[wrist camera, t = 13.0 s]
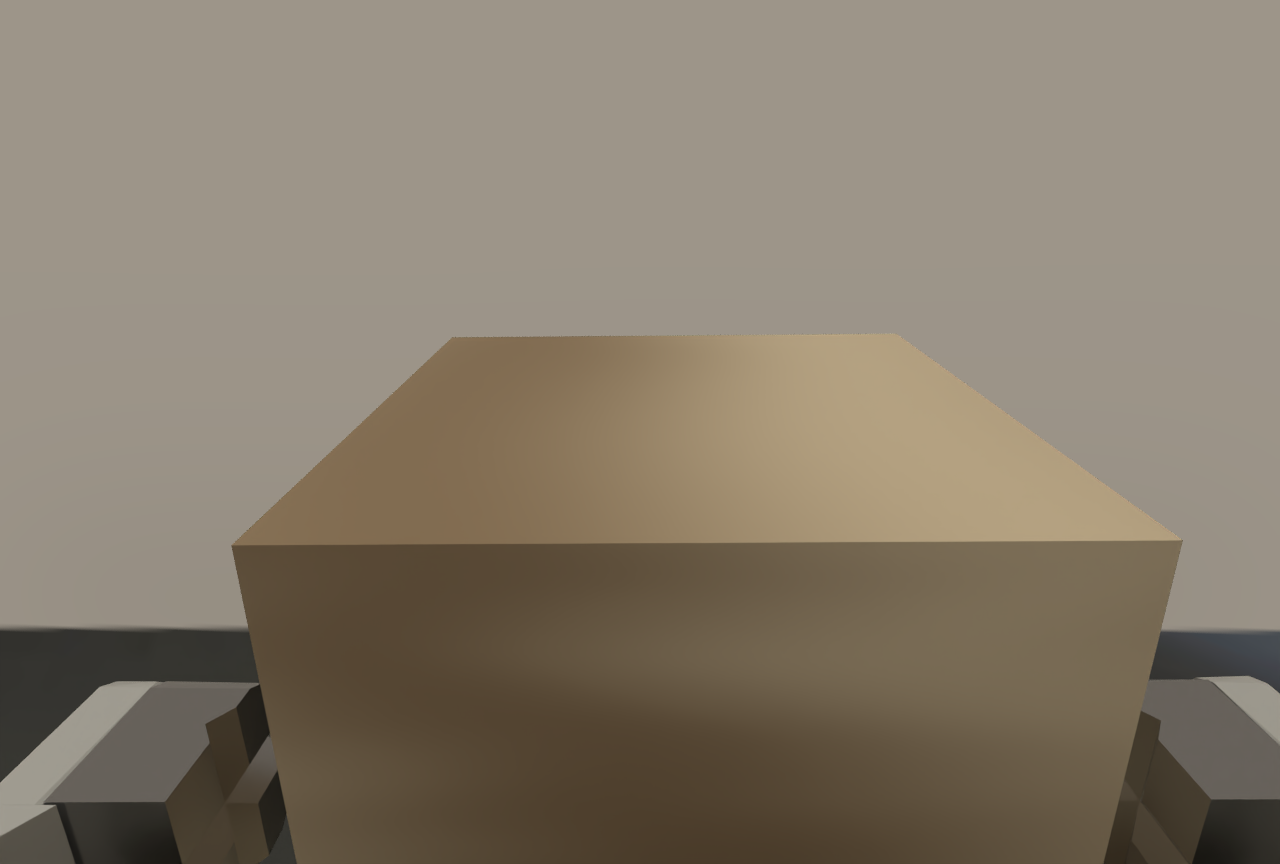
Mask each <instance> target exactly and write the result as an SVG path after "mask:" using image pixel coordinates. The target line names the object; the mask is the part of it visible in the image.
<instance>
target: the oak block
mask: <svg viewBox="0 0 1280 864" xmlns="http://www.w3.org/2000/svg"><path fill="white" fill-rule="evenodd" d="M1182 541H1183V540H1181V539H1180V538H1179V537H1177V536H1176V535H1174V534H1173V533H1172V532H1170V531H1169V530H1167V529H1166V528H1165V527H1163V526H1162V525H1161V524H1159V523H1158V522H1157V521H1155V520H1154V519H1152V518H1151V517H1150V516H1148V515H1147V514H1145V513H1144V512H1143V511H1141V510H1140V509H1138V508H1137V507H1136V506H1134V505H1133V504H1132V503H1130V502H1129V501H1127V500H1126V499H1125V498H1123V497H1122V496H1120V495H1119V494H1118V493H1116V492H1115V491H1113V490H1112V489H1111V488H1109V487H1108V486H1107V485H1105V484H1104V483H1102V482H1101V481H1100V480H1098V479H1097V478H1096V477H1094V476H1093V475H1091V474H1090V473H1089V472H1087V471H1086V470H1084V469H1083V468H1082V467H1080V466H1079V465H1078V464H1076V463H1075V462H1073V461H1072V460H1070V459H1069V458H1068V457H1066V456H1065V455H1063V454H1062V453H1061V452H1059V451H1058V450H1057V449H1055V448H1054V447H1053V446H1051V445H1050V444H1048V443H1047V442H1046V441H1044V440H1043V439H1041V438H1040V437H1039V436H1037V435H1036V434H1035V433H1033V432H1032V431H1030V430H1029V429H1028V428H1026V427H1025V426H1023V425H1022V424H1021V423H1019V422H1018V421H1017V420H1015V419H1014V418H1012V417H1011V416H1010V415H1008V414H1007V413H1005V412H1004V411H1003V410H1001V409H1000V408H999V407H997V406H996V405H994V404H993V403H992V402H990V401H989V400H987V399H986V398H985V397H983V396H982V395H980V394H979V393H978V392H976V391H975V390H974V389H972V388H971V387H969V386H968V385H967V384H965V383H964V382H962V381H961V380H960V379H958V378H957V377H956V376H954V375H953V374H951V373H950V372H949V371H947V370H946V369H944V368H943V367H941V366H940V365H939V364H938V363H936V362H935V361H933V360H932V359H931V358H929V357H928V356H926V355H925V354H924V353H922V352H921V351H920V350H918V349H917V348H915V347H914V346H913V345H911V344H910V343H908V342H907V341H906V340H904V339H903V338H901V337H900V336H899V335H897V334H825V335H824V334H823V335H821V334H820V335H819V334H812V335H699V336H698V335H695V336H694V335H692V336H578V337H577V336H575V337H574V336H572V337H458V338H456V337H455V338H454V337H452V338H451V339H450V340H449V341H448V342H447V343H446V344H445V345H444V346H443V347H442V348H441V349H440V350H439V351H437V352H436V353H435V354H434V355H433V356H432V357H431V358H430V359H429V360H428V361H427V362H426V363H425V364H424V365H423V366H421V368H419V369H418V370H417V371H416V372H415V373H414V374H413V375H412V376H411V377H410V378H409V379H408V380H407V381H406V382H405V383H403V384H402V385H401V386H400V387H399V388H398V389H397V390H396V391H395V392H394V393H393V394H392V395H391V396H390V397H389V398H387V399H386V400H385V401H384V402H383V403H382V404H381V405H380V406H379V407H378V408H377V409H376V410H375V411H374V412H373V413H372V414H370V416H369V417H367V418H366V419H365V420H364V421H363V422H362V423H361V424H360V425H359V426H358V427H357V428H356V429H355V430H353V431H352V432H351V433H350V434H349V435H348V436H347V437H346V438H345V439H344V440H343V441H342V442H341V443H340V444H339V445H338V446H336V448H334V449H333V450H332V451H331V452H330V453H329V454H328V455H327V456H326V457H325V458H324V459H323V460H322V461H321V462H320V463H318V464H317V465H316V466H315V467H314V468H313V469H312V470H311V471H310V472H309V473H308V474H307V475H306V476H305V477H304V478H303V479H301V481H299V482H298V483H297V484H296V485H295V486H294V487H293V488H292V489H291V490H290V491H289V492H288V493H287V494H286V495H284V496H283V497H282V498H281V499H280V500H279V501H278V502H277V503H276V504H275V505H274V506H273V507H272V508H271V509H270V510H269V511H268V512H266V513H265V514H264V515H263V516H262V517H261V518H260V519H259V520H258V521H257V522H256V523H255V524H254V525H253V526H252V527H250V528H249V530H247V532H245V533H244V534H243V535H242V536H241V537H240V538H239V539H238V540H237V541H236V542H235V543H234V544H232V550H233V555H234V560H235V565H236V570H237V574H238V579H239V584H240V589H241V594H242V599H243V604H244V608H245V613H246V618H247V623H248V628H249V633H250V638H251V643H252V648H253V652H254V657H255V662H256V667H257V672H258V677H259V682H260V686H261V691H262V696H263V701H264V706H265V711H266V716H267V720H268V725H269V730H270V735H271V740H272V745H273V750H274V755H275V759H276V764H277V769H278V774H279V779H280V784H281V789H282V793H283V798H284V803H285V808H286V813H287V818H288V823H289V827H290V832H291V837H292V842H293V847H294V852H295V857H296V861H297V864H1103V863H1104V859H1105V855H1106V851H1107V847H1108V842H1109V838H1110V834H1111V830H1112V826H1113V822H1114V818H1115V814H1116V810H1117V806H1118V802H1119V798H1120V794H1121V790H1122V786H1123V781H1124V777H1125V773H1126V769H1127V765H1128V761H1129V757H1130V753H1131V749H1132V745H1133V741H1134V737H1135V733H1136V729H1137V724H1138V720H1139V716H1140V712H1141V708H1142V704H1143V700H1144V696H1145V692H1146V688H1147V684H1148V680H1149V676H1150V672H1151V668H1152V663H1153V659H1154V655H1155V651H1156V647H1157V643H1158V639H1159V635H1160V631H1161V627H1162V623H1163V619H1164V615H1165V611H1166V606H1167V602H1168V598H1169V594H1170V590H1171V586H1172V582H1173V578H1174V574H1175V570H1176V566H1177V562H1178V557H1179V554H1180V549H1181V545H1182Z"/></svg>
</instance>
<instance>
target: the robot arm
mask: <svg viewBox="0 0 1280 864" xmlns="http://www.w3.org/2000/svg"><path fill="white" fill-rule="evenodd" d="M269 734H270V730H269V725H268V720H267V716H266V711H265V706H264V701H263V696H262V691H261V686H260V683H225V682H170V681H166V682H164V683H162V682H114V683H111V684H108V685H105V686H102V687H99V688H98V689H97V690H96V691H95V692H94V693H93V694H92V695H91V696H90V697H89V698H88V699H87V700H86V701H85V702H84V703H83V704H82V705H81V706H80V707H79V708H78V709H77V710H75V711H74V712H73V713H72V714H71V715H70V716H69V717H68V718H67V719H66V720H65V721H64V722H63V723H62V724H61V725H60V726H59V727H58V728H57V729H56V730H55V731H54V732H53V733H52V734H51V735H49V736H48V737H47V738H46V739H45V740H44V741H43V742H42V743H41V744H40V745H39V746H38V747H37V748H36V749H35V750H34V751H33V752H32V753H31V754H30V755H29V756H28V757H27V758H26V759H25V760H24V761H22V762H21V763H20V764H19V765H18V766H17V767H16V768H15V769H14V770H13V771H12V772H11V773H10V774H9V775H8V776H7V777H6V778H5V779H4V780H3V781H2V782H1V783H0V864H258V863H259V862H261V861H262V860H263V859H265V858H266V857H267V856H269V854H270V852H271V850H272V848H273V846H274V844H275V842H276V841H277V839H278V837H279V835H280V833H281V831H282V828H283V824H284V821H285V817H286V808H285V803H284V798H283V793H282V789H281V784H280V779H279V774H278V769H277V764H276V759H275V755H274V750H273V745H272V740H271V738H270V737H269V736H268V735H269ZM1104 863H1106V864H1280V694H1279V693H1278V692H1277V691H1276V690H1275V689H1273V688H1272V687H1271V686H1270V685H1269V684H1267V683H1265V682H1262V681H1260V680H1257V679H1255V678H1252V677H1250V676H1234V677H1202V678H1195V679H1193V680H1148V684H1147V688H1146V692H1145V696H1144V700H1143V704H1142V708H1141V712H1140V716H1139V720H1138V724H1137V729H1136V733H1135V737H1134V741H1133V745H1132V749H1131V753H1130V757H1129V761H1128V765H1127V769H1126V773H1125V777H1124V781H1123V786H1122V790H1121V794H1120V798H1119V802H1118V806H1117V810H1116V814H1115V818H1114V822H1113V826H1112V830H1111V834H1110V838H1109V842H1108V847H1107V851H1106V855H1105V859H1104Z"/></svg>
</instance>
